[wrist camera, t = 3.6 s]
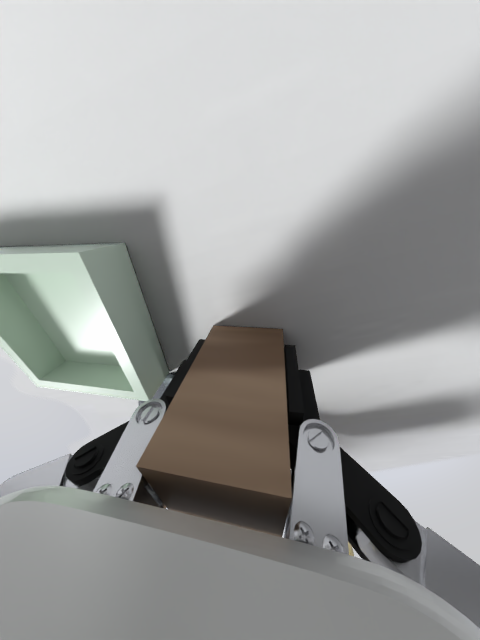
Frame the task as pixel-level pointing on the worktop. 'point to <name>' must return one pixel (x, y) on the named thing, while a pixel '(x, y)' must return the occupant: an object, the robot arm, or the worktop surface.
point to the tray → (79, 320)
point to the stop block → (227, 434)
